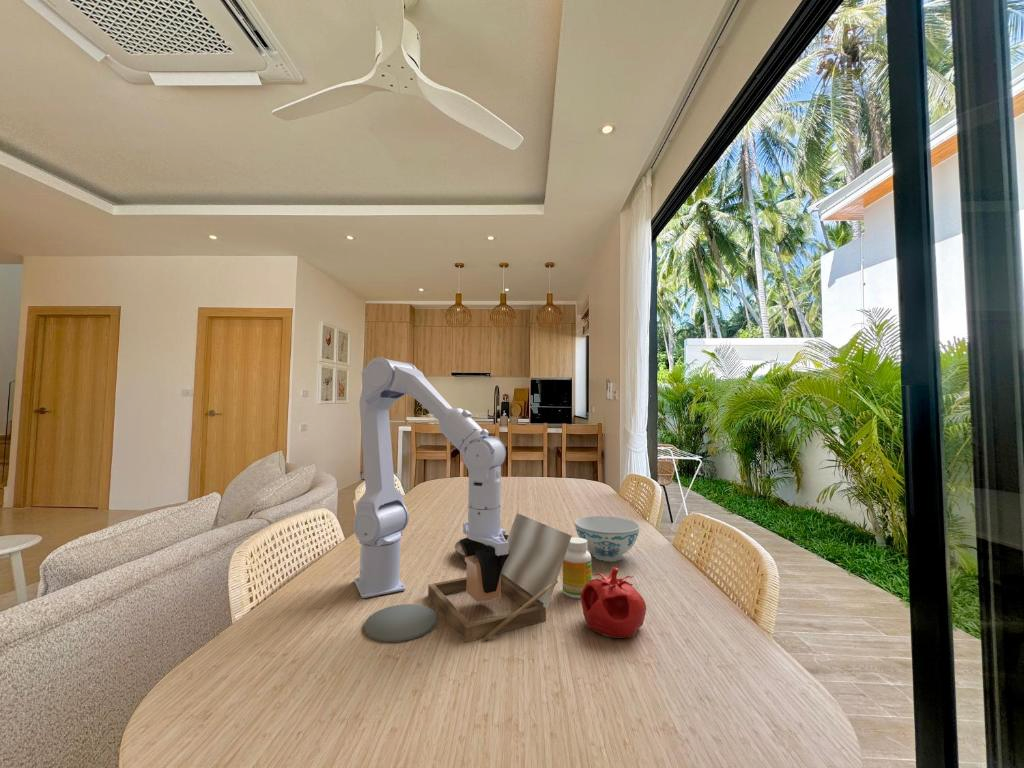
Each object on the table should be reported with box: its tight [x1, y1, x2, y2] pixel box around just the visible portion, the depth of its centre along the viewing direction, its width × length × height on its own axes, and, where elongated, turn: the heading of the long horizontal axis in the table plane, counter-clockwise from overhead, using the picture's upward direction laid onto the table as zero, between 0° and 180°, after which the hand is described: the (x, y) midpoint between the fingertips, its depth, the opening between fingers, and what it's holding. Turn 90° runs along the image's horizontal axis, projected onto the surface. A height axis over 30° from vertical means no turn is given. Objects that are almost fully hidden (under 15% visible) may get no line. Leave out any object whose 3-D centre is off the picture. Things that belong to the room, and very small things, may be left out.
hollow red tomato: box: [580, 566, 647, 639], centre depth 66 cm, size 10×10×9 cm
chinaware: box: [574, 515, 641, 562], centre depth 99 cm, size 15×15×8 cm
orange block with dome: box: [464, 555, 502, 603], centre depth 73 cm, size 5×5×6 cm
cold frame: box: [427, 512, 573, 643], centre depth 74 cm, size 19×19×13 cm
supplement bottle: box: [562, 536, 593, 599], centre depth 79 cm, size 5×5×10 cm
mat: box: [364, 603, 437, 643], centre depth 67 cm, size 11×11×1 cm
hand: (483, 585), depth 73 cm, fingers closed on orange block with dome, 5 cm apart
